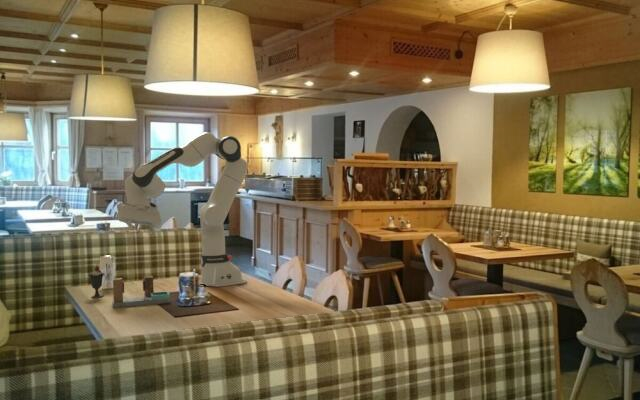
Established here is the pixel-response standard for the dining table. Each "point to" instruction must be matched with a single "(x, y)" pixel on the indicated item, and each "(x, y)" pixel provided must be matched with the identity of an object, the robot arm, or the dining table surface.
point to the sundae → (96, 281)
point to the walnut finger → (148, 285)
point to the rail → (138, 301)
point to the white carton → (107, 270)
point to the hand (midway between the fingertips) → (142, 231)
